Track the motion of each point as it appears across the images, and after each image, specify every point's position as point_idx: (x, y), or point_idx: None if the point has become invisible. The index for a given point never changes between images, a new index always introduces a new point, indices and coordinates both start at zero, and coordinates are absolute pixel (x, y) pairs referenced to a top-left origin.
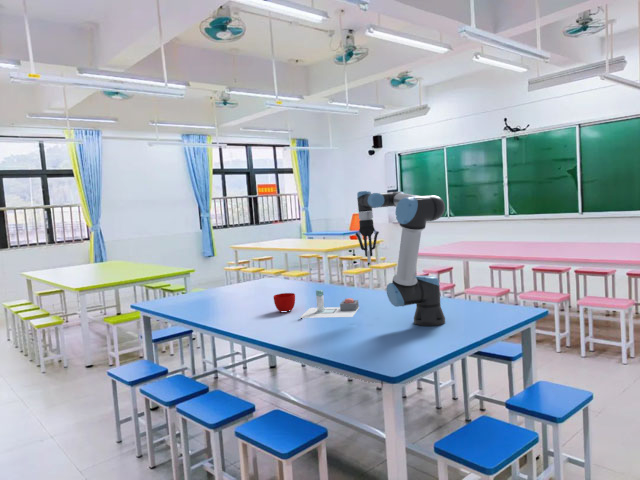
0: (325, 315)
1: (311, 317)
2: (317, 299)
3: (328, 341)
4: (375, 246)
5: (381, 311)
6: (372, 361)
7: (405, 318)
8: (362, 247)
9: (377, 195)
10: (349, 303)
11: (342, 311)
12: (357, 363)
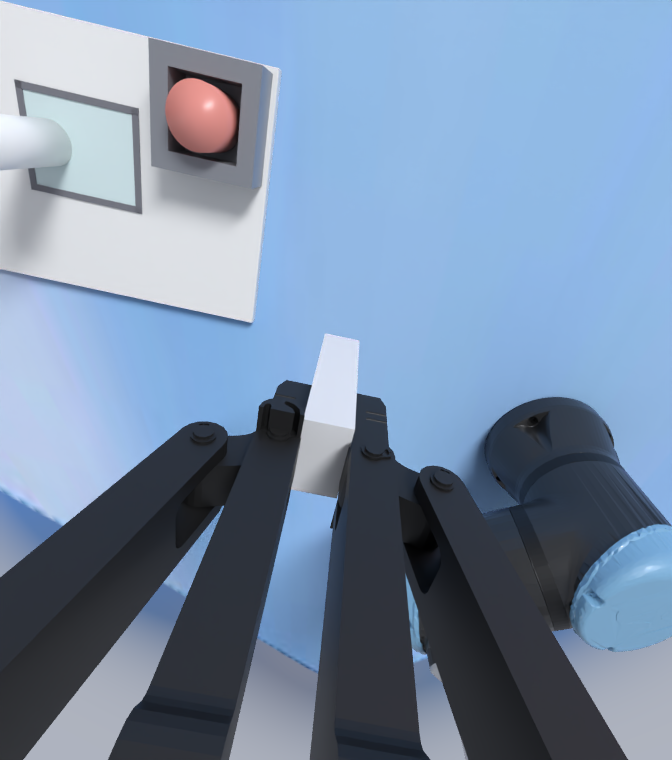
0: (111, 256)
1: (52, 277)
2: None
3: (204, 533)
4: (473, 512)
5: (404, 198)
6: (315, 641)
7: (479, 370)
8: (193, 523)
9: None
10: (211, 172)
11: (184, 186)
12: (286, 643)
